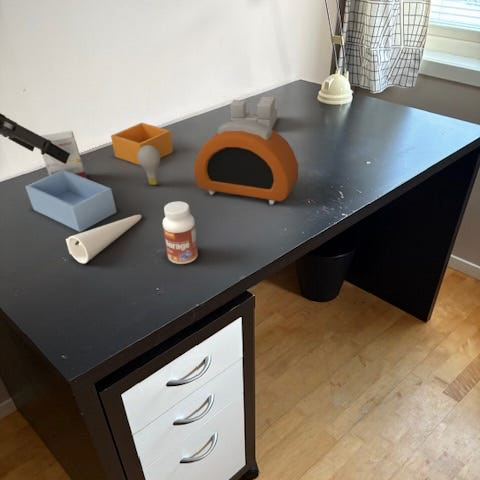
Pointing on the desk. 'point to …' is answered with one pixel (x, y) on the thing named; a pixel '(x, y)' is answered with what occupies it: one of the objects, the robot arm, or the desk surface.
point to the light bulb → (149, 162)
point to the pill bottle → (179, 233)
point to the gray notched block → (264, 110)
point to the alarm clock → (247, 162)
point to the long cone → (98, 238)
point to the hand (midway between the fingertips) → (50, 152)
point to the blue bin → (71, 199)
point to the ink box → (69, 145)
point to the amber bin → (141, 141)
